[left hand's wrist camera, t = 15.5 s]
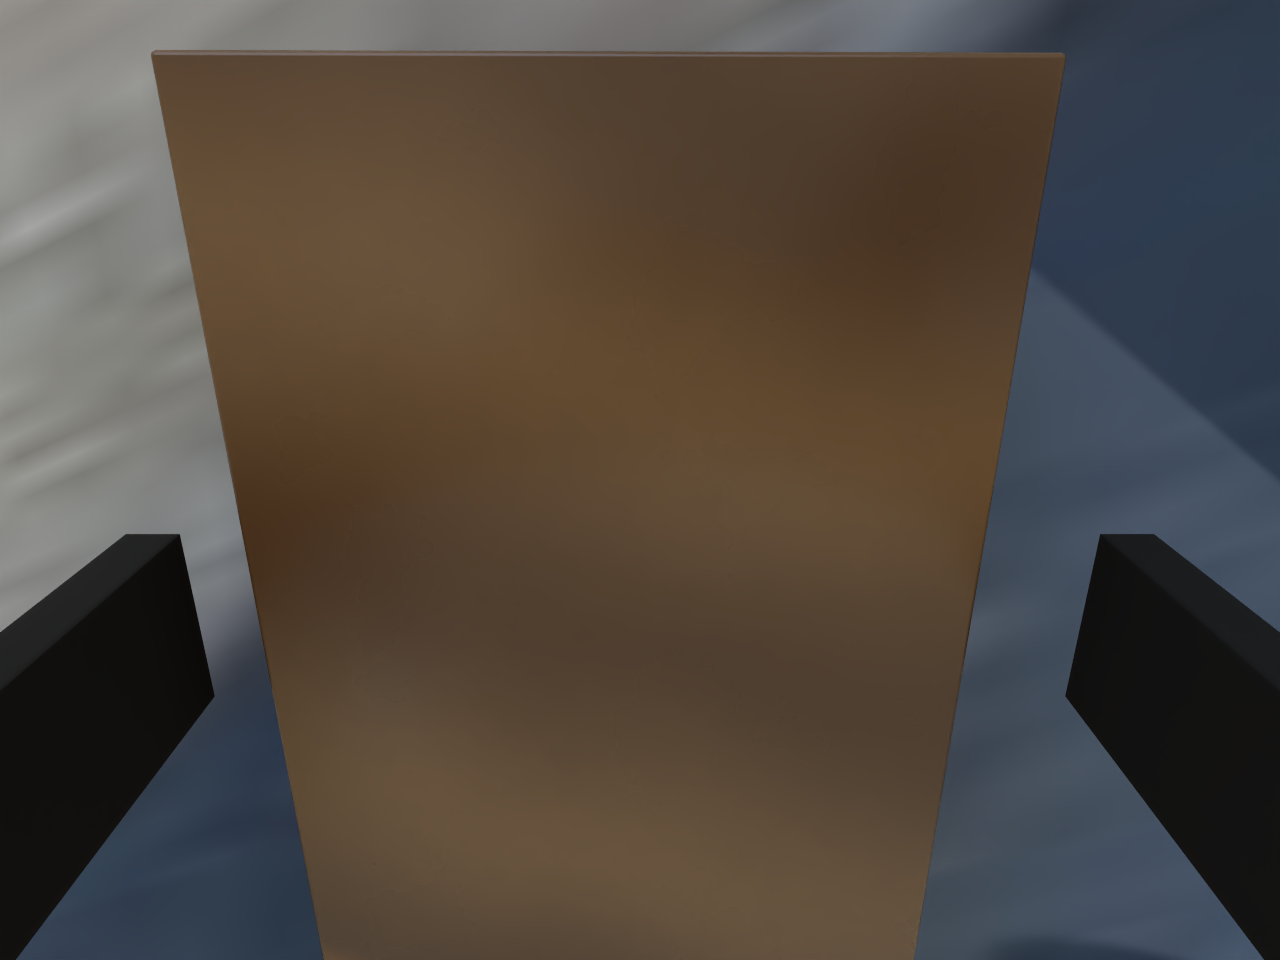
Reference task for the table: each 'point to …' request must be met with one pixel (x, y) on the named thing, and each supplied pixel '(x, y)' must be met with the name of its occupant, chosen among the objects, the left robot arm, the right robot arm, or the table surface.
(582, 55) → the wide beam
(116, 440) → the table surface
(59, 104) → the table surface
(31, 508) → the table surface
